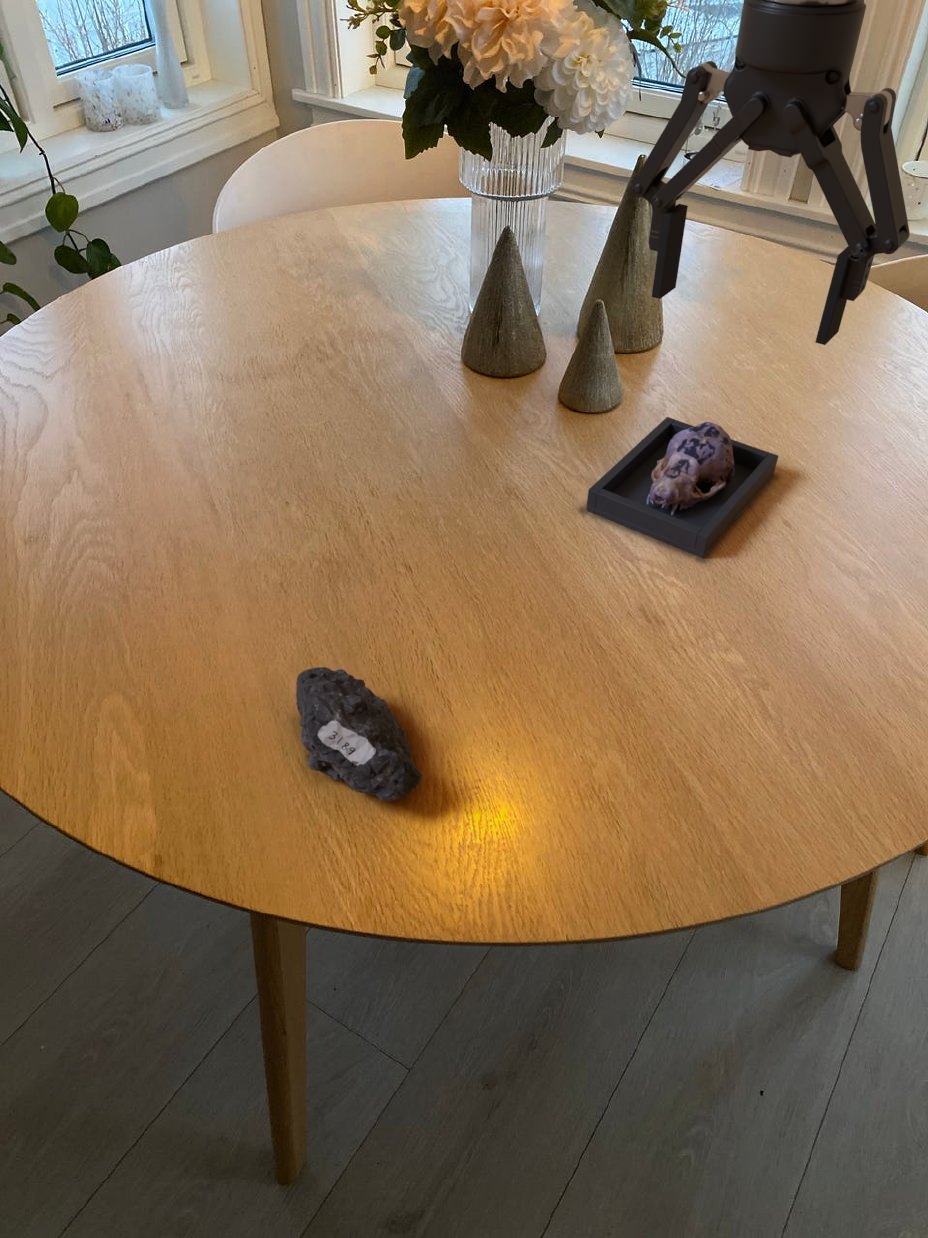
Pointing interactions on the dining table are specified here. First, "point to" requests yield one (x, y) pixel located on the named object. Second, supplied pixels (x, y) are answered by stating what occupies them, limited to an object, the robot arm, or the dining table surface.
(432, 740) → the dining table surface
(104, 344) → the dining table surface
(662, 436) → the tray
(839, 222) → the robot arm
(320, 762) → the rock
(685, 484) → the skull
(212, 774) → the dining table surface
